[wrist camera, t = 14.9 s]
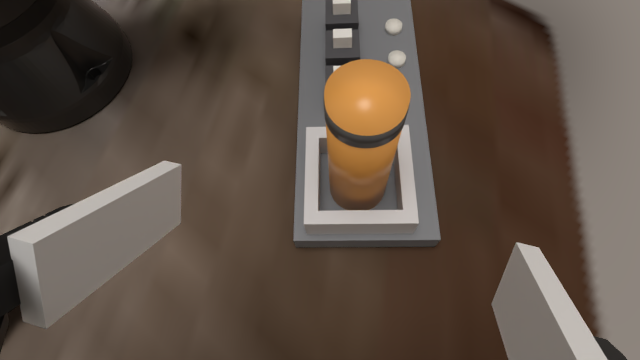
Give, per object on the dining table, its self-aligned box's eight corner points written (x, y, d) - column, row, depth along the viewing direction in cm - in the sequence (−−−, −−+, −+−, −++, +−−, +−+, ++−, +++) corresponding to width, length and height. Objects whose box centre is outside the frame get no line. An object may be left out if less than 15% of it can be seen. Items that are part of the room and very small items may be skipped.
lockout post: (321, 171, 31) (311, 73, 20) (372, 153, 31) (389, 48, 20) (341, 220, 29) (342, 142, 18) (394, 201, 30) (427, 113, 19)
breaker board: (434, 246, 30) (454, 224, 25) (296, 247, 31) (286, 226, 25) (406, 8, 41) (415, -42, 35) (304, 12, 41) (298, -37, 36)
